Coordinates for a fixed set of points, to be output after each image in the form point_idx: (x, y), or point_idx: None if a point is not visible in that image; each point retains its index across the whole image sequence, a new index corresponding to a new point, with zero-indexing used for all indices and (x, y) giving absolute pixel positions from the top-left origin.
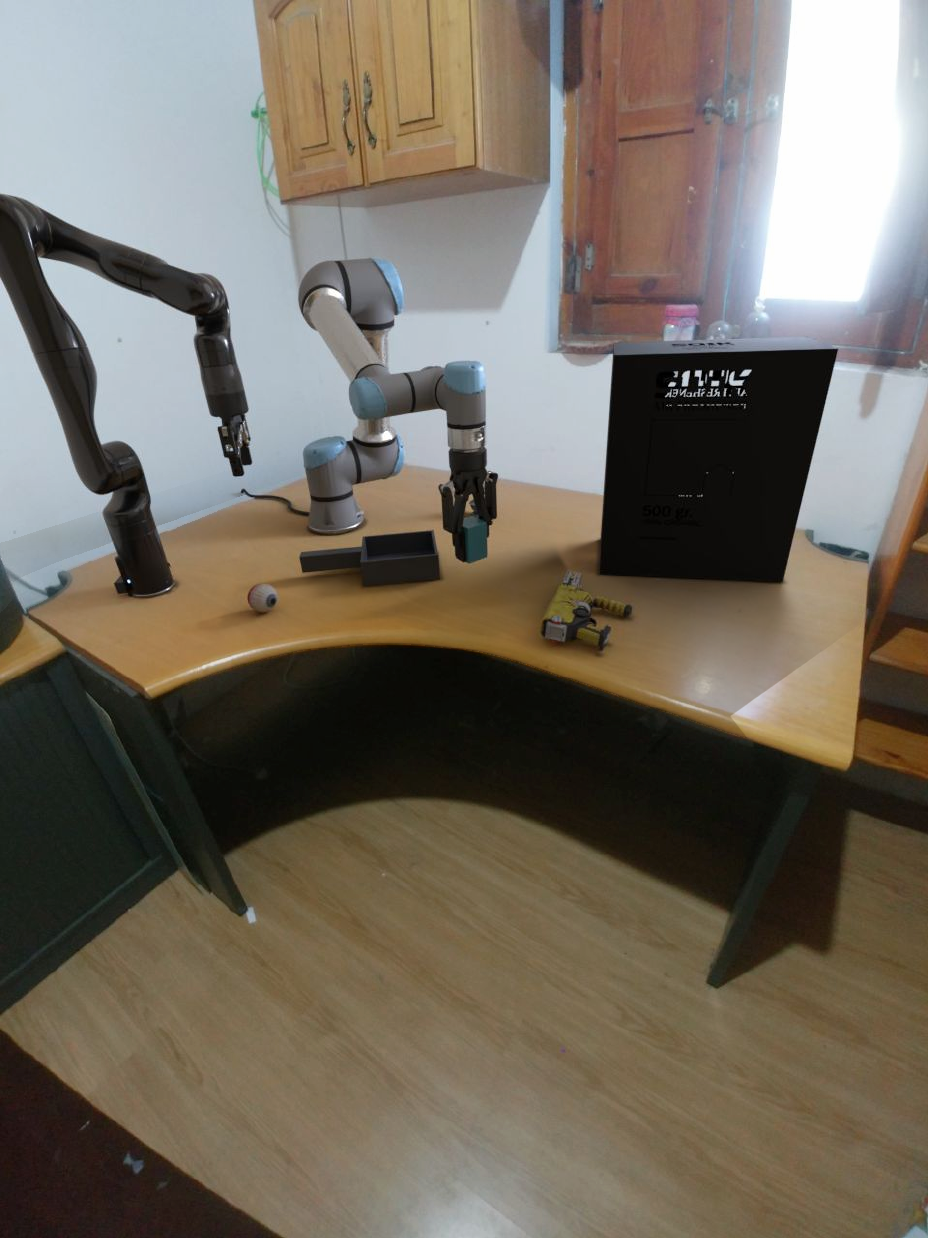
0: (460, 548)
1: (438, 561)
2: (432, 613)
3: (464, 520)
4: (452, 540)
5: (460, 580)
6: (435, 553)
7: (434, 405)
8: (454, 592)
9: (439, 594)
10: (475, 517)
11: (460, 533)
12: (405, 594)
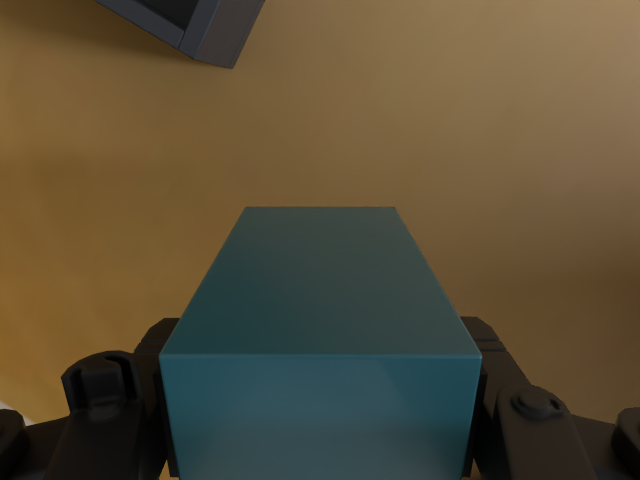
0: None
1: (205, 62)
2: (64, 304)
3: (297, 411)
4: (136, 348)
5: (303, 149)
6: (191, 20)
7: None
8: (217, 225)
9: (155, 198)
10: (465, 421)
11: (167, 452)
12: (19, 91)
